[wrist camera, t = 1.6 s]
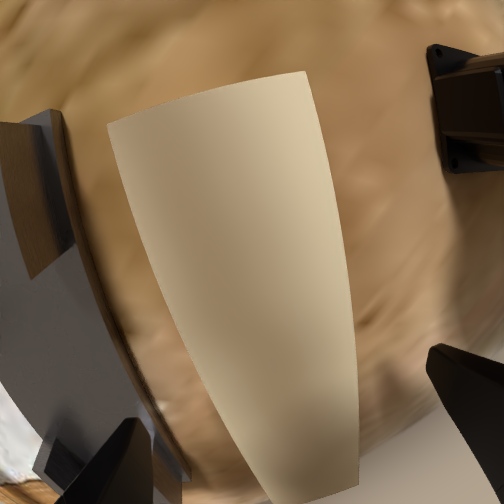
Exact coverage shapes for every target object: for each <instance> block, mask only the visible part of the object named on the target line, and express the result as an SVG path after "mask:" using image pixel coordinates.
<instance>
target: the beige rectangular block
mask: <svg viewBox="0 0 504 504" xmlns="http://www.w3.org/2000/svg"><path fill="white" fill-rule="evenodd" d="M106 125H107V129H108V133H109V137H110V140H111V144H112V148H113V151H114V155H115V159H116V162H117V166H118V169H119V172H120V176H121V179H122V182H123V186H124V189H125V192H126V195H127V198H128V201H129V204H130V207H131V210H132V213H133V216H134V219H135V222H136V225H137V228H138V231H139V234H140V237H141V239H142V242H143V245H144V248H145V250H146V253H147V256H148V258H149V261H150V264H151V266H152V269H153V271H154V274H155V277H156V279H157V282H158V284H159V287H160V289H161V291H162V294H163V296H164V299H165V301H166V304H167V306H168V308H169V311H170V313H171V315H172V318H173V320H174V322H175V325H176V327H177V329H178V331H179V334H180V336H181V338H182V340H183V342H184V345H185V347H186V349H187V351H188V353H189V355H190V357H191V359H192V362H193V364H194V366H195V368H196V370H197V372H198V374H199V376H200V378H201V380H202V382H203V384H204V386H205V388H206V390H207V392H208V394H209V396H210V398H211V400H212V402H213V403H214V405H215V407H216V409H217V411H218V413H219V415H220V417H221V418H222V420H223V422H224V424H225V426H226V428H227V429H228V431H229V433H230V435H231V436H232V438H233V440H234V442H235V443H236V445H237V447H238V449H239V450H240V452H241V454H242V455H243V457H244V459H245V460H246V462H247V464H248V465H249V467H250V469H251V470H252V472H253V474H254V475H255V477H256V478H257V480H258V482H259V483H260V485H261V486H262V488H263V489H264V491H265V492H266V494H267V495H268V497H269V498H270V500H271V501H272V503H273V504H303V503H307V502H310V501H313V500H316V499H320V498H323V497H326V496H329V495H332V494H335V493H338V492H340V491H343V490H346V489H349V488H351V487H354V486H356V485H358V484H359V398H358V377H357V361H356V347H355V335H354V324H353V314H352V305H351V296H350V288H349V280H348V272H347V265H346V258H345V251H344V244H343V238H342V232H341V226H340V220H339V214H338V209H337V203H336V198H335V192H334V187H333V182H332V177H331V172H330V168H329V163H328V158H327V154H326V149H325V145H324V141H323V136H322V132H321V128H320V124H319V120H318V116H317V112H316V108H315V104H314V101H313V97H312V93H311V90H310V86H309V82H308V79H307V75H306V72H305V71H301V72H294V73H287V74H281V75H275V76H270V77H264V78H259V79H254V80H249V81H244V82H240V83H235V84H231V85H227V86H222V87H218V88H214V89H211V90H207V91H203V92H199V93H196V94H192V95H189V96H185V97H182V98H179V99H175V100H172V101H169V102H166V103H163V104H160V105H157V106H154V107H151V108H148V109H145V110H142V111H140V112H137V113H134V114H131V115H129V116H126V117H124V118H121V119H118V120H116V121H113V122H111V123H108V124H106Z"/></svg>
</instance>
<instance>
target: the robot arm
mask: <svg viewBox="0 0 504 504" xmlns="http://www.w3.org/2000/svg"><path fill="white" fill-rule="evenodd" d="M435 52H436V53H437V55H438V56H437V55H436V53H435ZM427 56H428V61H429V65H430V70H431V75H432V80H433V85H434V91H435V97H436V103H437V110H438V117H439V125H440V134H441V145H442V157H443V166H444V169H445V170H446V171H447V172H449V173H454V174H459V173H470V172H483V171H497V170H504V52H502V53H496V54H490V55H485V56H479V55H476V54H472V53H469V52H466V51H462V50H459V49H455V48H451V47H447V46H443V45H439V44H433V45H430V46H428V47H427ZM452 160H453V166H452V164H451V163H452ZM426 372H427V374H428V376H429V378H430V380H431V382H432V384H433V386H434V388H435V390H436V392H437V394H438V396H439V398H440V400H441V402H442V403H443V405H444V407H445V409H446V410H447V412H448V414H449V415H450V417H451V418H452V420H453V421H454V423H455V425H456V426H457V428H458V429H459V431H460V433H461V434H462V436H463V437H464V439H465V441H466V442H467V444H468V445H469V447H470V449H471V451H472V452H473V454H474V456H475V457H476V459H477V461H478V462H479V464H480V466H481V468H482V469H483V471H484V473H485V475H486V477H487V478H488V480H489V481H490V484H491V486H492V487H493V489H494V491H495V492H496V495H497V497H498V499H499V501H500V503H501V504H504V364H502V363H499V362H496V361H493V360H490V359H487V358H484V357H481V356H478V355H475V354H472V353H469V352H466V351H463V350H460V349H458V348H455V347H452V346H449V345H446V344H443V343H439V344H437V345H434V346H432V347H431V348H430V349H429V353H428V357H427V362H426ZM153 490H154V479H153V465H152V449H151V437H150V434H149V432H148V431H147V429H146V427H145V426H144V424H143V422H142V421H141V419H140V418H138V417H127V418H125V419H124V420H123V421H122V422H121V424H120V425H119V426H118V427H117V428H116V430H115V431H114V432H113V433H112V435H111V436H110V437H109V438H108V439H107V441H106V442H105V443H104V444H103V445H102V447H101V448H100V449H99V450H98V451H97V453H96V454H95V455H94V456H93V458H92V459H91V460H90V461H89V462H88V464H87V465H86V466H85V467H84V468H83V470H82V471H81V472H80V473H79V474H78V476H77V477H76V478H75V479H74V480H73V482H72V483H71V484H70V485H69V486H68V488H67V489H66V490H65V491H64V492H63V495H61V496H60V497H59V498H58V499H57V501H56V502H55V503H54V504H153Z"/></svg>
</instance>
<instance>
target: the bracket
mask: <svg viewBox="0 0 504 504" xmlns="http://www.w3.org/2000/svg"><path fill="white" fill-rule="evenodd" d="M0 382H1V383H2V385H3V386H4V388H5V390H6V391H7V393H8V394H9V396H10V397H11V398H12V400H13V401H14V403H15V404H16V406H17V407H18V408H19V410H20V411H21V413H22V414H23V415H24V417H25V418H26V419H27V421H28V422H29V423H30V424H31V426H32V427H33V428H34V429H35V431H36V432H37V433H38V434H39V436H40V437H41V438H42V439H43V442H42V444H41V447H40V449H39V452H38V455H37V457H36V460H35V463H34V466H33V468H32V470H33V471H34V472H35V473H36V474H37V475H38V476H39V477H40V478H41V479H42V480H43V481H44V482H45V483H46V484H47V485H49V486H50V487H51V488H52V489H53V490H54V491H55V492H56V493H58V494H59V495H60V496H61V495H63V492H64V491H65V490H66V489H67V488H68V486H69V485H70V484H71V483H72V482H73V480H74V479H75V478H76V477H77V476H78V474H79V473H80V472H81V471H82V470H83V468H84V467H85V466H86V465H87V464H88V462H89V461H90V460H91V459H92V458H93V456H94V455H95V454H96V453H97V451H98V450H99V449H100V448H101V447H102V445H103V444H104V443H105V442H106V441H107V439H108V438H109V437H110V436H111V435H112V433H113V432H114V431H115V430H116V428H117V427H118V426H119V425H120V424H121V422H122V421H123V420H124V419H125V418H127V417H138V418H140V419H141V421H142V422H143V424H144V426H145V427H146V429H147V431H148V432H149V434H150V437H151V449H152V465H153V479H154V490H153V504H182V482H191V469H190V468H189V466H188V465H187V463H186V461H185V460H184V458H183V457H182V455H181V453H180V452H179V450H178V449H177V447H176V445H175V444H174V442H173V440H172V439H171V437H170V435H169V433H168V432H167V430H166V428H165V427H164V425H163V423H162V421H161V419H160V418H159V416H158V414H157V412H156V410H155V408H154V406H153V405H152V403H151V401H150V399H149V397H148V395H147V393H146V391H145V389H144V387H143V385H142V383H141V381H140V379H139V377H138V375H137V373H136V370H135V368H134V366H133V364H132V362H131V360H130V357H129V355H128V353H127V351H126V348H125V346H124V344H123V341H122V339H121V337H120V334H119V332H118V329H117V327H116V324H115V322H114V319H113V317H112V314H111V312H110V309H109V306H108V304H107V301H106V298H105V295H104V293H103V290H102V287H101V284H100V281H99V278H98V275H97V272H96V269H95V266H94V263H93V260H92V256H91V253H90V250H89V247H88V243H87V240H86V236H85V232H84V229H83V225H82V221H81V217H80V213H79V209H78V205H77V201H76V197H75V192H74V188H73V183H72V178H71V173H70V168H69V163H68V157H67V152H66V145H65V139H64V132H63V125H62V117H61V111H58V110H53V109H48V110H45V111H43V112H41V113H39V114H37V115H34V116H32V117H30V118H28V119H26V120H24V121H22V122H20V123H9V122H0Z"/></svg>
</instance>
